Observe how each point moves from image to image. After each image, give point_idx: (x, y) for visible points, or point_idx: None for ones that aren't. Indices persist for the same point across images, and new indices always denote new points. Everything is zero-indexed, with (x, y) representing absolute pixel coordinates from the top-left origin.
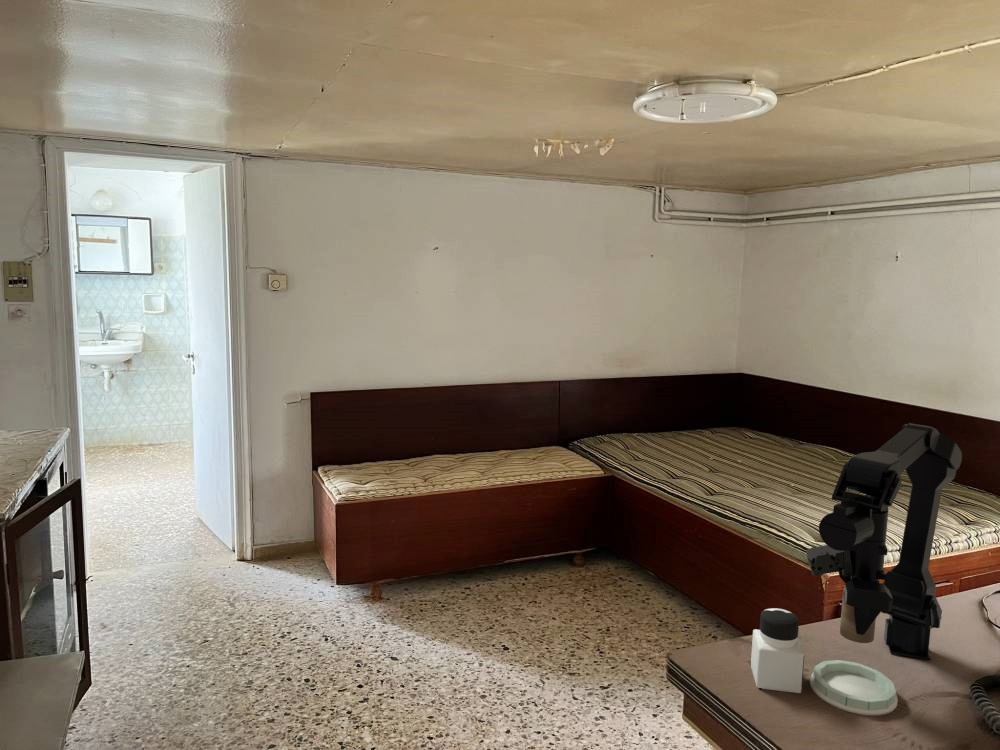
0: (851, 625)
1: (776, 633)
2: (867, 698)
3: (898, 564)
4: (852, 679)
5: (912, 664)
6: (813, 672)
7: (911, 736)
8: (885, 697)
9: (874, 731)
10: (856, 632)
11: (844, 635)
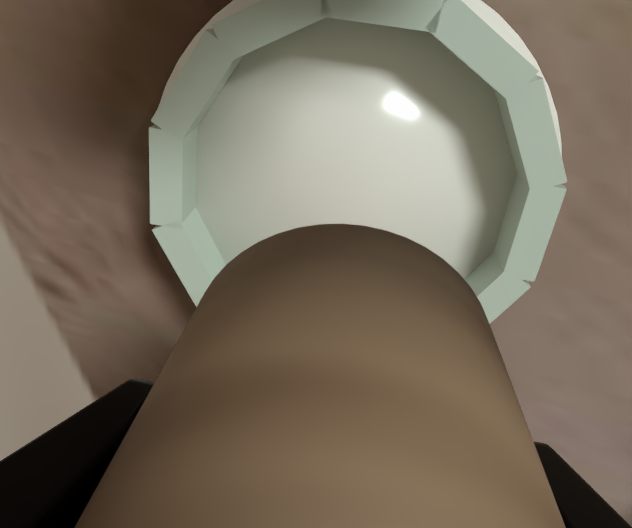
0: (154, 384)
1: None
2: (181, 227)
3: None
4: (438, 210)
5: (628, 481)
6: None
7: (80, 318)
8: None
9: (50, 195)
10: (122, 384)
11: (252, 251)
